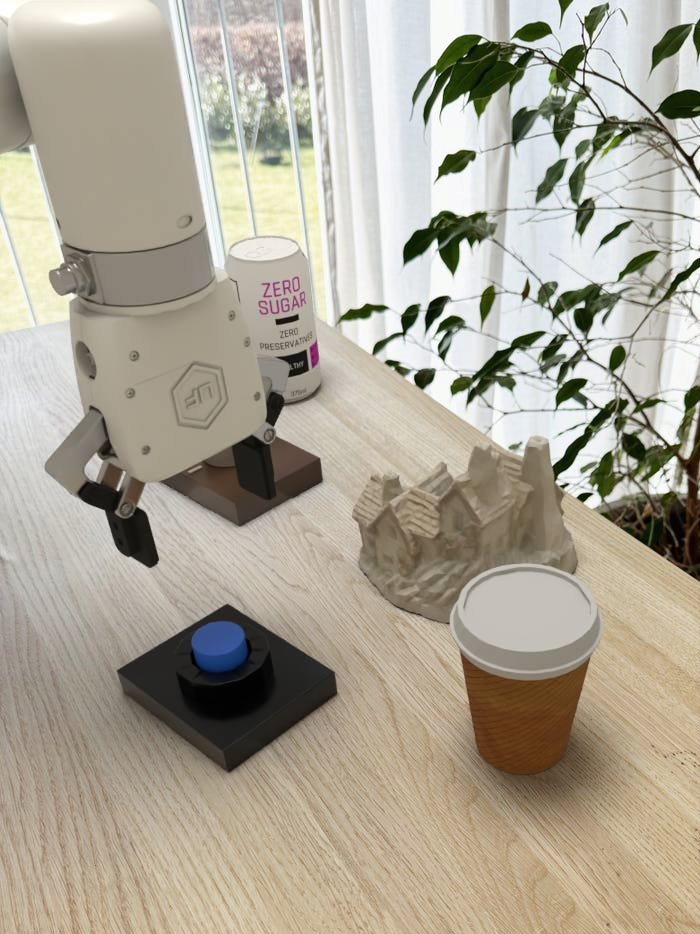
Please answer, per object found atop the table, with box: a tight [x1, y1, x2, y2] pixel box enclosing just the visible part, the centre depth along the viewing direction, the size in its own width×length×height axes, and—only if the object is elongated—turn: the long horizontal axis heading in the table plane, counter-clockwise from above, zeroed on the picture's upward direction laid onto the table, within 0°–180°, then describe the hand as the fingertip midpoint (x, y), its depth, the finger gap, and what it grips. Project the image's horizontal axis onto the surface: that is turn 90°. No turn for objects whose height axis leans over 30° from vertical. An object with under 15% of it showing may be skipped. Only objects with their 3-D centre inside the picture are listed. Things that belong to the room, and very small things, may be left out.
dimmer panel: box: [160, 435, 324, 527], centre depth 94 cm, size 14×10×3 cm
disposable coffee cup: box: [449, 563, 605, 775], centre depth 65 cm, size 10×10×12 cm
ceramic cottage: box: [351, 435, 579, 624], centre depth 80 cm, size 16×16×15 cm
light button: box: [191, 621, 248, 673], centre depth 70 cm, size 4×4×2 cm
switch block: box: [116, 603, 338, 774], centre depth 71 cm, size 12×10×4 cm
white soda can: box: [223, 234, 322, 404], centre depth 103 cm, size 8×8×15 cm
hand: (202, 524), depth 66 cm, fingers open, 9 cm apart
